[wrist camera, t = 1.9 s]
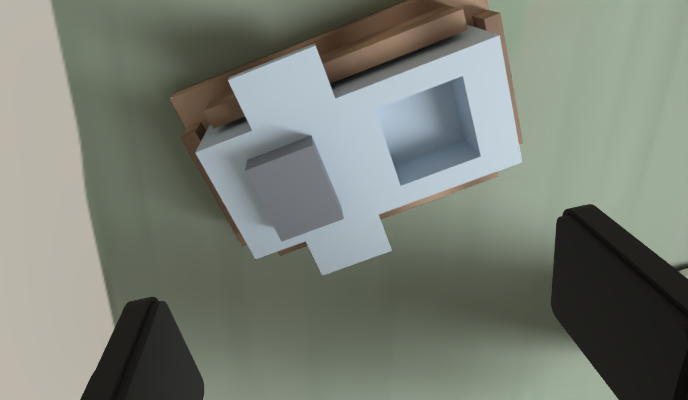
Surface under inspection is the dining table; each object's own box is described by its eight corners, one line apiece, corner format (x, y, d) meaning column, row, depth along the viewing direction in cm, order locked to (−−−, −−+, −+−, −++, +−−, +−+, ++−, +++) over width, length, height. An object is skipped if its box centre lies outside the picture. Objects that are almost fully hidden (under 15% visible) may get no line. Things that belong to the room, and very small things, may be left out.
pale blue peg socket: (457, -25, 27) (502, -23, 22) (497, 171, 34) (541, 213, 28) (186, 82, 29) (160, 112, 23) (276, 251, 35) (273, 308, 29)
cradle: (473, -26, 29) (502, -25, 25) (507, 151, 35) (535, 174, 31) (174, 92, 30) (157, 112, 26) (257, 242, 36) (252, 276, 32)
